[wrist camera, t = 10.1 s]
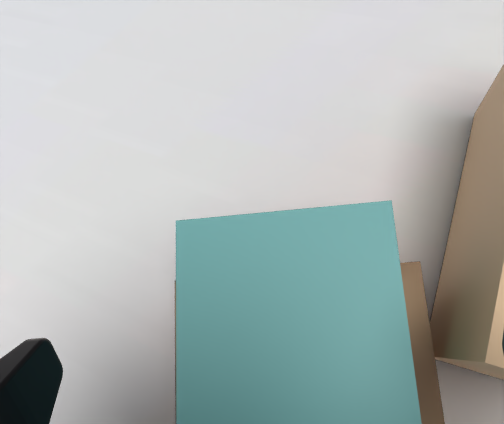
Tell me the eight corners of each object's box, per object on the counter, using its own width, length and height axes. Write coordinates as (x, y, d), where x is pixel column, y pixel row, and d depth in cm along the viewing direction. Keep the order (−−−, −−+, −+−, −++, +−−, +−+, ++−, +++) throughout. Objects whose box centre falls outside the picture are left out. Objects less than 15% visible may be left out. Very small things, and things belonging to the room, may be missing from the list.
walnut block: (440, 539, 18) (471, 598, 14) (212, 537, 20) (176, 590, 15) (403, 278, 21) (420, 261, 17) (206, 293, 22) (174, 280, 18)
